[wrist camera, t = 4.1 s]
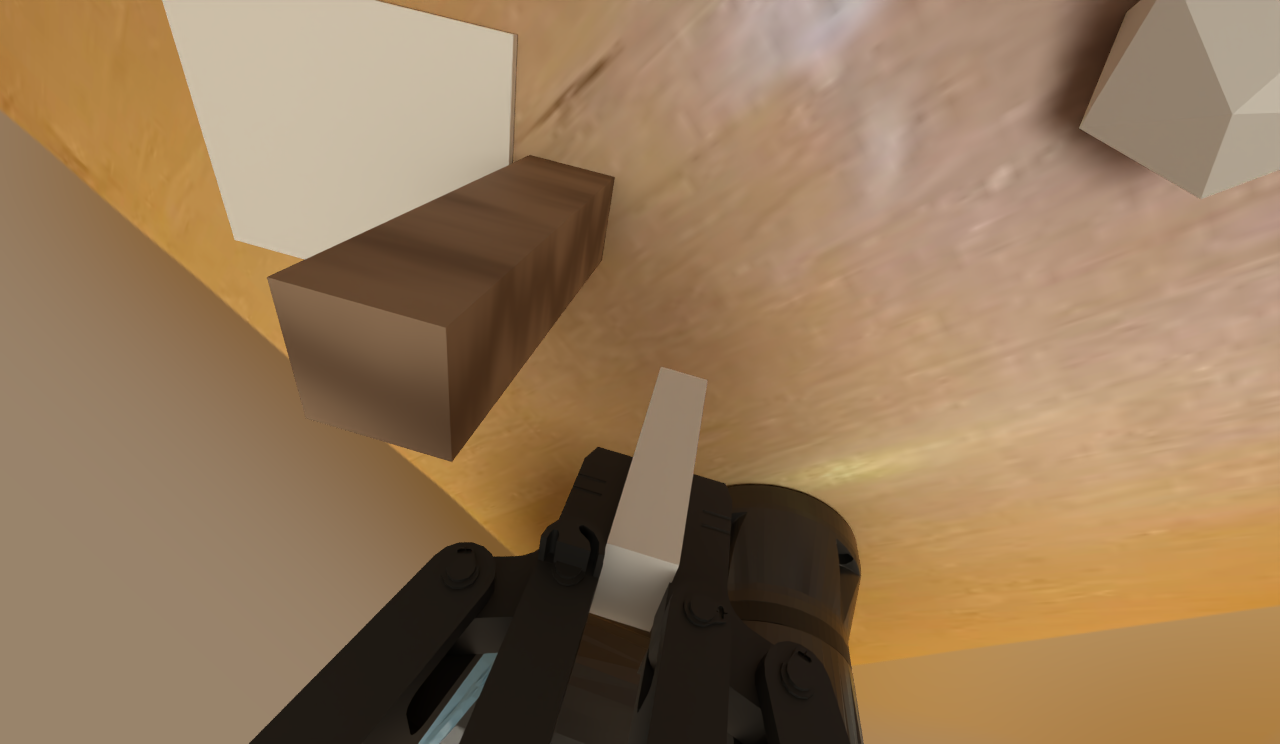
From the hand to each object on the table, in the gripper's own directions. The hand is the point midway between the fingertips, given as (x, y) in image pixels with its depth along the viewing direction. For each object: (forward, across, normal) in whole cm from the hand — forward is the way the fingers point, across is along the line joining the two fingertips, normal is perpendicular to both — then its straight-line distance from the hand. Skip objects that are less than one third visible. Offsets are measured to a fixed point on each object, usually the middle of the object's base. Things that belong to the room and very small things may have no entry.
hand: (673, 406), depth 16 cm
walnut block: (+16, +9, 0) cm, 18 cm away
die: (+16, -16, -13) cm, 26 cm away
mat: (+15, +22, 0) cm, 27 cm away
